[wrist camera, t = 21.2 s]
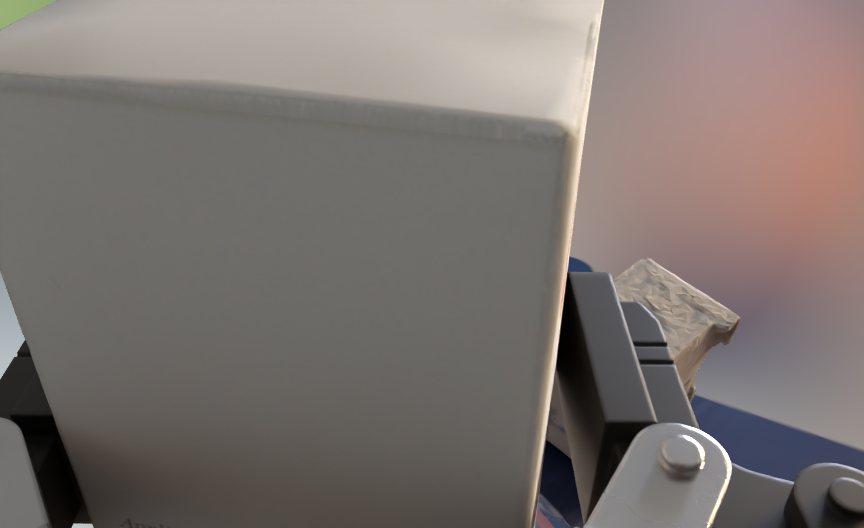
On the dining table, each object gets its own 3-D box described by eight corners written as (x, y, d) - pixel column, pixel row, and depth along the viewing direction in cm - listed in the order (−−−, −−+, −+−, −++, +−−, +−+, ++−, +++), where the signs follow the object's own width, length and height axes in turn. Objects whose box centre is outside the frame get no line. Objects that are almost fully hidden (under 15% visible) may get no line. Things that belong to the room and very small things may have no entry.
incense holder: (628, 510, 48) (659, 383, 42) (519, 435, 53) (534, 310, 47) (710, 424, 54) (748, 301, 48) (605, 363, 58) (628, 244, 52)
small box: (300, 424, 21) (244, -110, 14) (540, 465, 20) (618, -87, 13) (153, 741, 15) (-102, 54, 7) (496, 823, 14) (600, 126, 6)
